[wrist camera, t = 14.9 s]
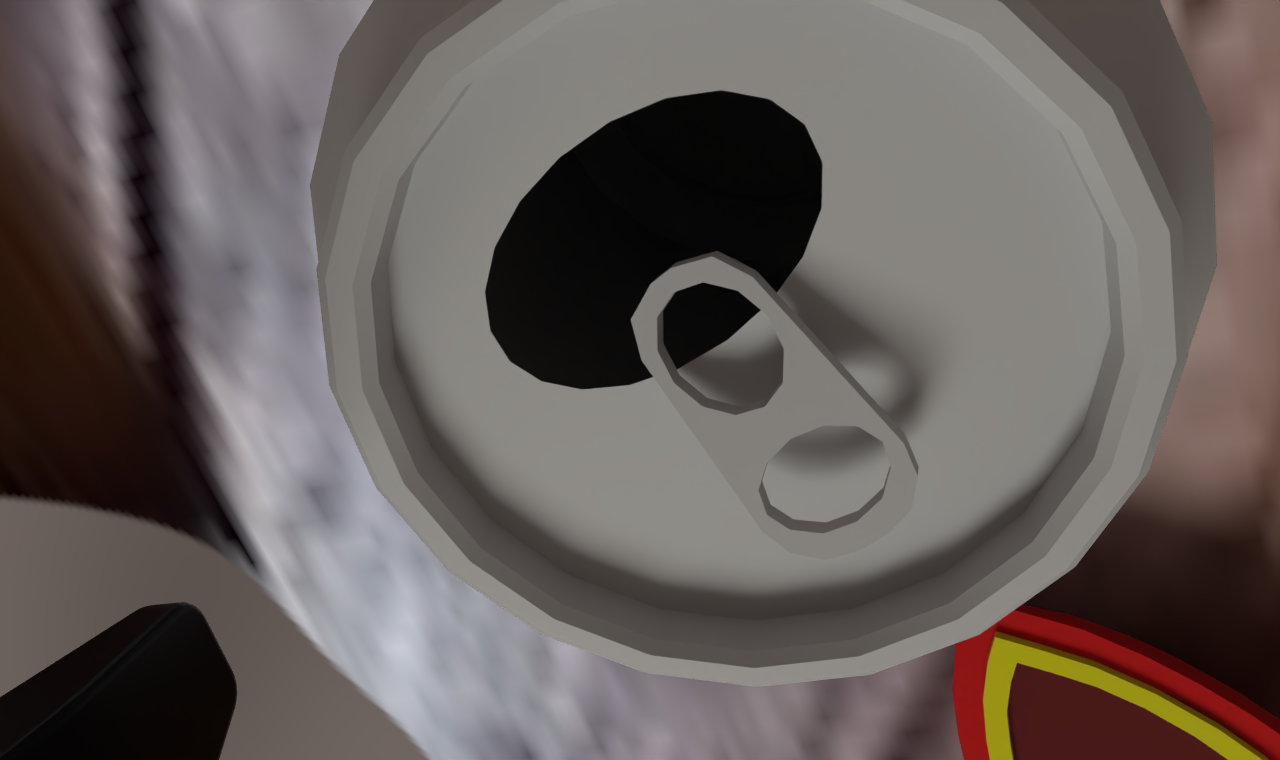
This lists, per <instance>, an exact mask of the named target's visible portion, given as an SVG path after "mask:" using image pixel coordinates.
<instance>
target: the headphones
mask: <svg viewBox="0 0 1280 760" xmlns="http://www.w3.org/2000/svg"><path fill="white" fill-rule="evenodd" d="M952 691H953V699H954V706H955V714H956V722H957V729H958V736H959V740H960V744H961V748H962V753H963V757H964V760H1280V720H1279V719H1278V718H1277V717H1275V716H1274V715H1272V714H1271V713H1269V712H1268V711H1266V710H1265V709H1263V708H1262V707H1260V706H1259V705H1257V704H1256V703H1254V702H1253V701H1251V700H1250V699H1248V698H1247V697H1245V696H1244V695H1242V694H1240V693H1239V692H1237V691H1236V690H1234V689H1233V688H1231V687H1229V686H1227V685H1226V684H1224V683H1222V682H1220V681H1218V680H1217V679H1215V678H1213V677H1211V676H1209V675H1207V674H1206V673H1204V672H1202V671H1200V670H1198V669H1197V668H1195V667H1193V666H1191V665H1189V664H1188V663H1186V662H1184V661H1182V660H1180V659H1179V658H1176V657H1174V656H1172V655H1170V654H1168V653H1166V652H1163V651H1161V650H1159V649H1157V648H1155V647H1153V646H1150V645H1148V644H1146V643H1144V642H1142V641H1140V640H1138V639H1135V638H1133V637H1131V636H1129V635H1126V634H1123V633H1121V632H1118V631H1115V630H1113V629H1110V628H1107V627H1104V626H1102V625H1099V624H1096V623H1093V622H1091V621H1088V620H1085V619H1083V618H1080V617H1077V616H1074V615H1071V614H1067V613H1062V612H1057V611H1051V610H1046V609H1041V608H1036V607H1031V606H1026V605H1021V606H1019V607H1018V608H1016V609H1015V610H1014V611H1012V612H1011V613H1009V614H1008V615H1007V616H1005V617H1004V618H1002V619H1001V620H999V621H998V622H997V623H995V624H994V625H992V626H991V627H990V628H988V629H987V630H985V631H984V632H982V633H981V634H980V635H977V636H975V637H972V638H969V639H966V640H964V641H961V642H958V643H956V645H955V658H954V672H953V685H952Z"/></svg>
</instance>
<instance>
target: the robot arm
mask: <svg viewBox="0 0 1280 760" xmlns="http://www.w3.org/2000/svg"><path fill="white" fill-rule="evenodd" d="M236 698H237V684H236V680H235V675H234V673H233V671H232V669H231V667H230V665H229V663H228V661H227V659H226V657H225V655H224V653H223V651H222V649H221V647H220V645H219V643H218V641H217V639H216V638H215V636H214V634H213V632H212V630H211V628H210V626H209V624H208V622H207V620H206V618H205V616H204V615H203V613H202V612H201V611H200V610H199V609H198V608H197V607H196V606H194V605H193V604H189V603H185V602H182V603H170V604H160V605H151V606H146V607H143V608H140V609H138V610H137V611H135V612H133V613H132V614H130V615H129V616H127V617H125V618H124V619H122V620H121V621H119V622H117V623H116V624H114V625H113V626H111V627H110V628H108V629H107V630H105V631H103V632H102V633H100V634H99V635H97V636H96V637H94V638H92V639H91V640H90V641H88V642H86V643H85V644H83V645H81V646H80V647H79V648H77V649H75V650H74V651H72V652H71V653H69V654H67V655H66V656H64V657H63V658H61V659H60V660H58V661H56V662H55V663H53V664H52V665H50V666H49V667H47V668H45V669H44V670H42V671H41V672H39V673H38V674H36V675H34V676H33V677H31V678H30V679H28V680H27V681H25V682H23V683H22V684H20V685H19V686H17V687H16V688H14V689H13V690H11V691H10V692H8V693H6V694H5V695H3V696H2V697H0V760H219V758H220V755H221V751H222V748H223V745H224V742H225V738H226V735H227V732H228V729H229V725H230V722H231V719H232V716H233V712H234V709H235V705H236Z"/></svg>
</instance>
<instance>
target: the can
mask: <svg viewBox="0 0 1280 760" xmlns="http://www.w3.org/2000/svg"><path fill="white" fill-rule="evenodd" d="M310 189H311V198H312V207H313V216H314V225H315V234H316V244H317V253H318V266H317V278H318V287H319V296H320V305H321V314H322V323H323V332H324V341H325V350H326V359H327V368H328V377H329V385H330V388H331V390H332V392H333V394H334V396H335V399H336V401H337V403H338V405H339V407H340V410H341V412H342V414H343V416H344V418H345V421H346V423H347V425H348V427H349V429H350V432H351V434H352V436H353V438H354V440H355V442H356V445H357V447H358V449H359V451H360V453H361V456H362V458H363V460H364V462H365V464H366V467H367V469H368V471H369V473H370V475H371V478H372V480H373V482H374V484H375V486H376V488H377V489H378V490H379V492H380V493H381V494H382V495H383V496H384V497H385V498H386V500H387V501H388V502H389V503H390V504H391V505H392V507H393V508H394V509H395V510H396V511H397V512H398V513H399V515H400V516H401V517H402V518H403V519H404V520H405V522H406V523H407V524H408V525H409V526H410V527H411V528H412V530H413V531H414V532H415V533H416V534H417V535H418V537H419V538H420V539H421V540H422V541H423V542H424V543H425V545H426V546H427V547H428V548H429V549H430V550H431V552H432V553H433V554H434V555H435V556H436V557H437V558H438V560H439V561H440V562H441V563H442V564H443V565H444V567H445V568H446V569H447V570H448V571H449V572H450V573H452V574H453V575H455V576H456V577H458V578H459V579H461V580H462V581H464V582H465V583H467V584H468V585H469V586H471V587H472V588H474V589H475V590H477V591H478V592H480V593H481V594H483V595H484V596H486V597H487V598H489V599H490V600H492V601H493V602H494V603H496V604H497V605H499V606H500V607H502V608H503V609H505V610H506V611H508V612H509V613H511V614H512V615H514V616H515V617H517V618H518V619H519V620H521V621H522V622H524V623H525V624H527V625H528V626H530V627H531V628H533V629H534V630H536V631H537V632H539V633H540V634H542V635H545V636H548V637H550V638H553V639H556V640H559V641H561V642H564V643H567V644H569V645H572V646H575V647H577V648H580V649H583V650H585V651H588V652H591V653H593V654H596V655H599V656H601V657H604V658H607V659H609V660H612V661H615V662H618V663H620V664H623V665H626V666H628V667H631V668H634V669H636V670H639V671H642V672H644V673H651V674H659V675H667V676H675V677H683V678H691V679H699V680H707V681H715V682H723V683H731V684H738V685H746V686H754V687H760V686H769V685H778V684H788V683H797V682H806V681H816V680H825V679H834V678H844V677H853V676H862V675H871V674H873V673H876V672H879V671H882V670H884V669H887V668H890V667H893V666H895V665H898V664H901V663H903V662H906V661H909V660H912V659H914V658H917V657H920V656H923V655H925V654H928V653H931V652H934V651H936V650H939V649H942V648H945V647H947V646H950V645H953V644H956V643H958V642H961V641H964V640H966V639H969V638H972V637H975V636H977V635H980V634H981V633H982V632H984V631H985V630H987V629H988V628H990V627H991V626H992V625H994V624H995V623H997V622H998V621H999V620H1001V619H1002V618H1004V617H1005V616H1007V615H1008V614H1009V613H1011V612H1012V611H1014V610H1015V609H1016V608H1018V607H1019V606H1021V605H1022V604H1023V603H1025V602H1026V601H1028V600H1029V599H1031V598H1032V597H1033V596H1035V595H1036V594H1038V593H1039V592H1040V591H1042V590H1043V589H1045V588H1046V587H1048V586H1049V585H1050V584H1052V583H1053V582H1055V581H1056V580H1057V579H1059V578H1060V577H1062V576H1063V575H1064V574H1066V573H1067V572H1069V571H1070V570H1072V569H1073V568H1074V567H1076V565H1077V564H1078V563H1079V561H1080V560H1081V559H1082V558H1083V556H1084V555H1085V554H1086V552H1087V551H1088V550H1089V548H1090V547H1091V546H1092V545H1093V543H1094V542H1095V541H1096V539H1097V538H1098V537H1099V536H1100V534H1101V533H1102V532H1103V530H1104V529H1105V528H1106V526H1107V525H1108V524H1109V523H1110V521H1111V520H1112V519H1113V517H1114V516H1115V515H1116V513H1117V512H1118V511H1119V510H1120V508H1121V507H1122V506H1123V504H1124V503H1125V502H1126V501H1127V499H1128V498H1129V497H1130V495H1131V494H1132V493H1133V491H1134V490H1135V489H1136V488H1137V486H1138V485H1139V484H1140V482H1141V481H1142V480H1143V479H1144V477H1145V476H1146V475H1147V473H1148V472H1149V470H1150V467H1151V464H1152V461H1153V458H1154V455H1155V452H1156V449H1157V446H1158V443H1159V440H1160V437H1161V434H1162V431H1163V428H1164V425H1165V422H1166V419H1167V416H1168V413H1169V410H1170V407H1171V404H1172V401H1173V398H1174V395H1175V392H1176V389H1177V386H1178V383H1179V380H1180V377H1181V374H1182V371H1183V368H1184V365H1185V362H1186V359H1187V356H1188V350H1189V347H1190V344H1191V341H1192V338H1193V335H1194V332H1195V329H1196V326H1197V323H1198V320H1199V317H1200V314H1201V311H1202V308H1203V305H1204V302H1205V299H1206V296H1207V293H1208V290H1209V287H1210V284H1211V281H1212V278H1213V275H1214V272H1215V269H1216V266H1217V258H1216V227H1215V195H1214V164H1213V133H1212V121H1211V119H1210V116H1209V114H1208V112H1207V109H1206V107H1205V105H1204V102H1203V100H1202V98H1201V95H1200V93H1199V91H1198V88H1197V86H1196V84H1195V81H1194V79H1193V77H1192V74H1191V72H1190V70H1189V67H1188V65H1187V63H1186V60H1185V58H1184V56H1183V53H1182V51H1181V49H1180V46H1179V44H1178V42H1177V40H1176V37H1175V35H1174V33H1173V30H1172V28H1171V26H1170V23H1169V21H1168V19H1167V16H1166V14H1165V12H1164V9H1163V7H1162V5H1161V2H1160V0H374V1H373V3H372V4H371V6H370V7H369V9H368V10H367V12H366V14H365V15H364V17H363V18H362V20H361V21H360V23H359V25H358V26H357V28H356V29H355V31H354V32H353V34H352V36H351V37H350V39H349V40H348V42H347V43H346V45H345V47H344V48H343V50H342V51H341V53H340V54H339V59H338V63H337V68H336V72H335V76H334V81H333V85H332V90H331V94H330V99H329V103H328V108H327V112H326V117H325V121H324V125H323V130H322V134H321V139H320V143H319V148H318V152H317V157H316V161H315V166H314V170H313V175H312V179H311V183H310Z"/></svg>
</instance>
